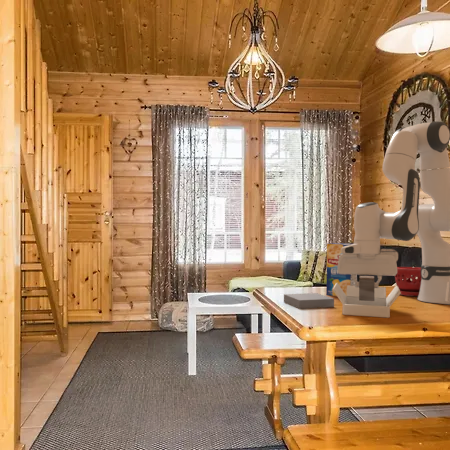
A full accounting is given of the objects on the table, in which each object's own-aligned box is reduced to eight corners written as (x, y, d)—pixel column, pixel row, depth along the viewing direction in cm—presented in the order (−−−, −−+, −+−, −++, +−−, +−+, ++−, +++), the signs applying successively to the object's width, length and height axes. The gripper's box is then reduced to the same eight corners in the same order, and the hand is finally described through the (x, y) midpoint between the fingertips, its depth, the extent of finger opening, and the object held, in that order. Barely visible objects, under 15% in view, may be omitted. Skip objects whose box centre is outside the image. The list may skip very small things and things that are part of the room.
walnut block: (359, 294, 173) (359, 275, 172) (373, 295, 171) (374, 276, 171) (359, 300, 161) (359, 280, 161) (374, 301, 160) (374, 280, 160)
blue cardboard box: (350, 297, 195) (351, 244, 195) (326, 294, 202) (326, 243, 202) (357, 295, 201) (357, 244, 200) (333, 292, 208) (333, 243, 207)
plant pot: (433, 296, 200) (434, 268, 200) (409, 298, 195) (409, 269, 195) (411, 292, 212) (411, 265, 212) (387, 293, 208) (388, 266, 207)
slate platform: (316, 300, 187) (316, 293, 187) (333, 306, 174) (334, 298, 174) (283, 301, 183) (283, 294, 183) (299, 308, 170) (299, 300, 170)
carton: (336, 303, 181) (336, 281, 181) (396, 307, 174) (397, 284, 174) (332, 313, 160) (332, 288, 160) (400, 318, 154) (401, 292, 154)
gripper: (397, 248, 166) (397, 287, 166) (338, 247, 172) (338, 285, 172) (398, 249, 160) (398, 290, 160) (337, 248, 166) (337, 287, 166)
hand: (366, 287), depth 166 cm, fingers closed on walnut block, 5 cm apart
